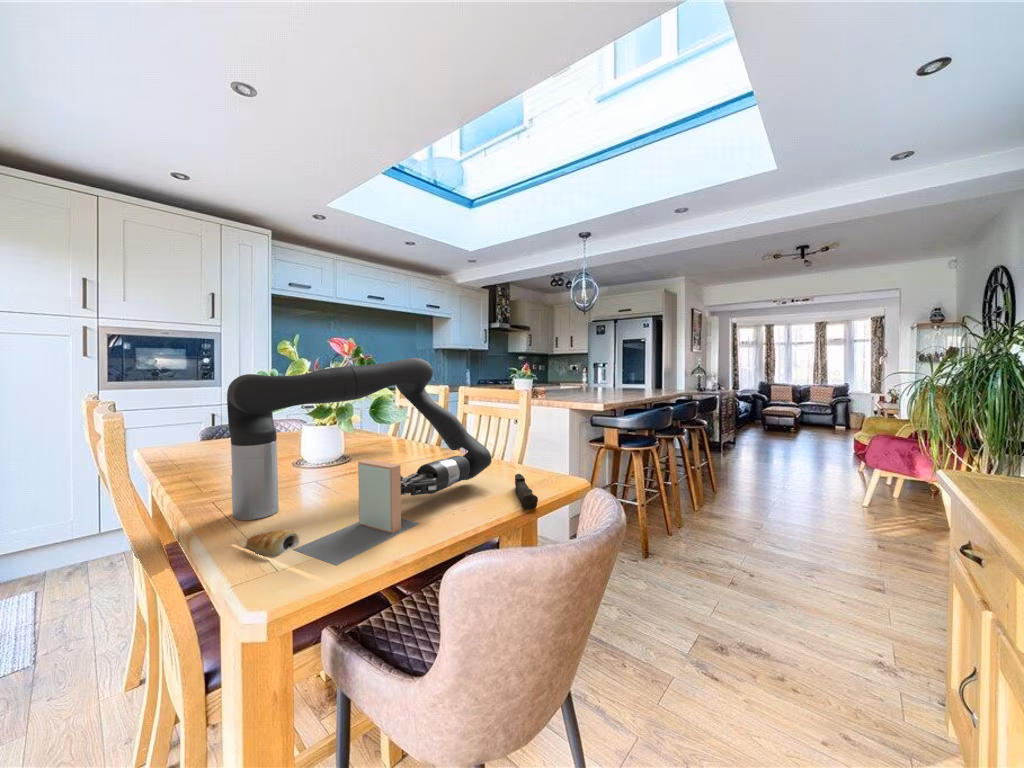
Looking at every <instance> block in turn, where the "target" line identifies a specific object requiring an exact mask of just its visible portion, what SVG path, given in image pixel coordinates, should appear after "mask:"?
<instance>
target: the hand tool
mask: <svg viewBox="0 0 1024 768" xmlns="http://www.w3.org/2000/svg"><path fill="white" fill-rule="evenodd" d="M514 485H515V493H516V492H517V493H516V494H517V495H518V496H519V499H520V501H521V508H522V509H523V510H526V511H527V510H534V509H536V508H537V507H538V501H539V497H538V496H537V495H535V494H534V493H533V490H532V489H531V488H530V487H529V485H528V484H527V483H526V479H525V477H524V476H523V475H522V474H521V473H516V474H515V475H514Z"/></svg>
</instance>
